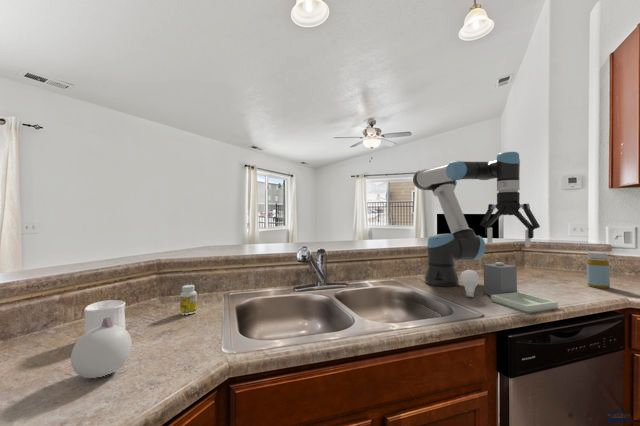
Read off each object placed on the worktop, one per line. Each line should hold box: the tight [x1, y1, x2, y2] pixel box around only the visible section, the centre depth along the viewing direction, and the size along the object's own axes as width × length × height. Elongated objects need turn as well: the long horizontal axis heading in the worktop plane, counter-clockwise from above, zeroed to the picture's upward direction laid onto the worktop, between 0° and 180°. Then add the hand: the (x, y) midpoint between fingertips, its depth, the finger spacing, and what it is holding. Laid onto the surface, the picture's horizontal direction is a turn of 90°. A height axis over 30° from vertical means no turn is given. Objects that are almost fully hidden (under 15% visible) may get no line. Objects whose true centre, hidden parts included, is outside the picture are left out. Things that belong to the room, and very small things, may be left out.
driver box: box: [482, 261, 518, 296], centre depth 115 cm, size 8×8×13 cm
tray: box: [490, 291, 559, 314], centre depth 102 cm, size 14×14×2 cm
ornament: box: [70, 317, 133, 379], centre depth 61 cm, size 10×10×12 cm
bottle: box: [586, 251, 611, 289], centre depth 124 cm, size 7×7×15 cm
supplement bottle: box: [179, 284, 198, 313], centre depth 100 cm, size 5×5×10 cm
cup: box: [83, 299, 126, 335], centre depth 79 cm, size 10×10×10 cm
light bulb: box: [459, 269, 480, 299], centre depth 112 cm, size 7×7×11 cm
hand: (507, 245), depth 113 cm, fingers open, 13 cm apart
